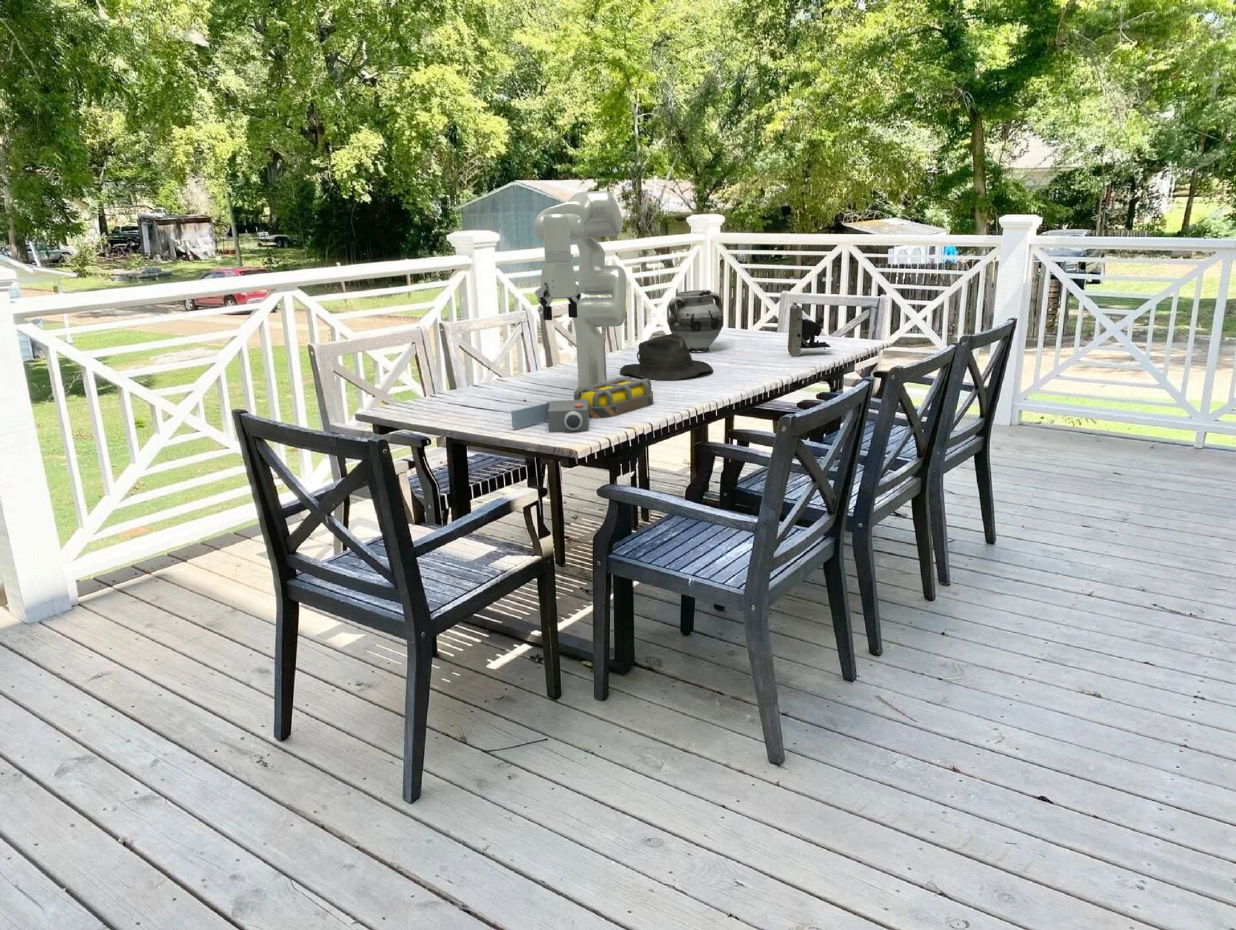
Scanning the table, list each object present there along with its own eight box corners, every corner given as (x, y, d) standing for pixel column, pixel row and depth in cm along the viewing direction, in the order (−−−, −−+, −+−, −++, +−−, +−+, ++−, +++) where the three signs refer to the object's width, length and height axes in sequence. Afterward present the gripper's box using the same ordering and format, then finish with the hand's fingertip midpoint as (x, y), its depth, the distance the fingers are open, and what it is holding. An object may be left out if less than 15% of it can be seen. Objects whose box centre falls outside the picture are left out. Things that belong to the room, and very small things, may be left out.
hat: (669, 385, 321) (668, 344, 317) (603, 374, 346) (602, 335, 342) (731, 372, 340) (731, 333, 336) (665, 362, 366) (664, 325, 362)
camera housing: (552, 420, 274) (550, 398, 272) (589, 419, 274) (588, 396, 272) (548, 433, 259) (547, 409, 257) (588, 432, 259) (587, 408, 257)
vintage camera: (830, 357, 363) (833, 305, 358) (791, 357, 364) (793, 305, 358) (825, 353, 373) (828, 303, 368) (787, 353, 373) (789, 303, 368)
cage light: (562, 389, 279) (626, 373, 301) (564, 415, 281) (627, 397, 303) (599, 394, 270) (661, 377, 292) (600, 421, 272) (662, 402, 294)
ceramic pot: (689, 358, 370) (688, 295, 363) (652, 352, 388) (650, 292, 381) (740, 349, 387) (739, 288, 381) (702, 344, 405) (701, 286, 398)
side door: (549, 419, 275) (548, 401, 273) (551, 419, 274) (550, 401, 273) (512, 428, 265) (511, 410, 264) (515, 429, 264) (513, 410, 263)
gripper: (571, 257, 274) (574, 316, 278) (526, 259, 262) (529, 320, 266) (588, 257, 268) (591, 317, 272) (543, 259, 257) (546, 321, 261)
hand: (560, 318), depth 269 cm, fingers open, 9 cm apart
